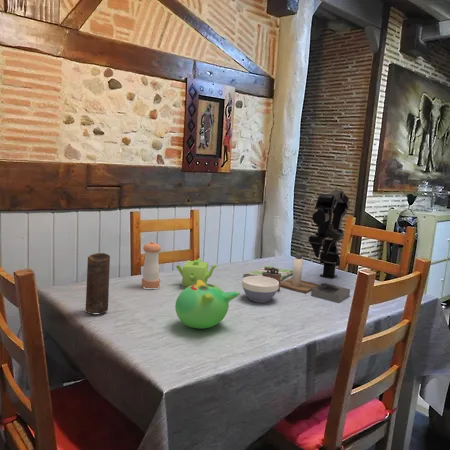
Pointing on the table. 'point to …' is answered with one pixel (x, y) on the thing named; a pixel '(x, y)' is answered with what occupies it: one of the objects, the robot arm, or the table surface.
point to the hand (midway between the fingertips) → (321, 256)
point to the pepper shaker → (151, 266)
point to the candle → (97, 283)
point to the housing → (330, 292)
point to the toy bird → (203, 305)
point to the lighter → (272, 274)
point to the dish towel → (258, 272)
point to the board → (303, 288)
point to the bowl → (260, 288)
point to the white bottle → (297, 270)
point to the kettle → (195, 272)
